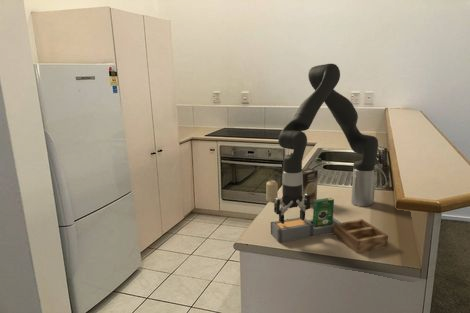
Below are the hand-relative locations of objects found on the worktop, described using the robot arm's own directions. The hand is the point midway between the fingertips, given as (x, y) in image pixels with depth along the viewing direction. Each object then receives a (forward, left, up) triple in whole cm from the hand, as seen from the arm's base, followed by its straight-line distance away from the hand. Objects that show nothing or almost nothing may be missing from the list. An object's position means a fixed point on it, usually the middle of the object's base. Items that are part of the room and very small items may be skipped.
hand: (292, 221), depth 139 cm
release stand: (-7, 0, -6) cm, 9 cm away
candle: (-8, -38, -6) cm, 39 cm away
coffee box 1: (-22, -29, -6) cm, 37 cm away
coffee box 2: (-14, 0, -6) cm, 15 cm away
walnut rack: (-22, +13, -6) cm, 26 cm away
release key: (0, 0, -5) cm, 6 cm away
